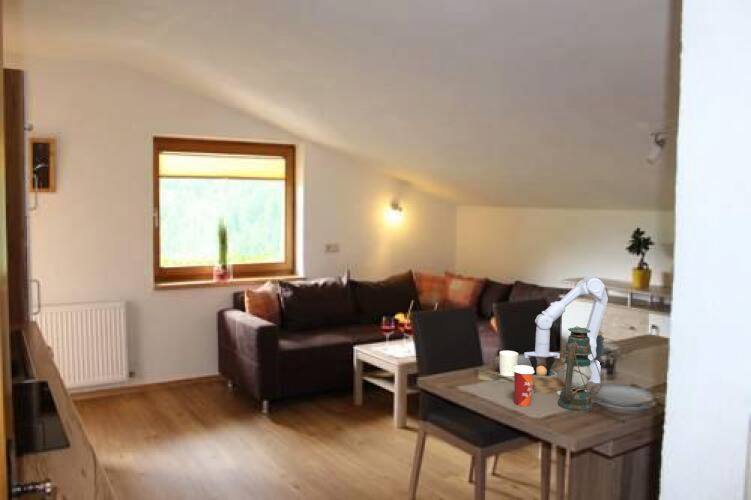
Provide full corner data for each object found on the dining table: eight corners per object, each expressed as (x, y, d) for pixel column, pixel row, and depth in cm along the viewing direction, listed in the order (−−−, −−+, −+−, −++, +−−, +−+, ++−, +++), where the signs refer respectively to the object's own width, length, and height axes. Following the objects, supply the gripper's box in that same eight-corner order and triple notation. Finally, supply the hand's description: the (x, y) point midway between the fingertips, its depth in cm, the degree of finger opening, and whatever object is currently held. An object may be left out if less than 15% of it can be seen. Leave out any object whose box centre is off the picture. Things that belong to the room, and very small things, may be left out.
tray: (559, 383, 275) (559, 377, 275) (570, 394, 261) (570, 388, 261) (525, 383, 274) (525, 377, 274) (534, 393, 260) (535, 387, 260)
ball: (544, 375, 283) (545, 364, 282) (548, 378, 278) (548, 367, 278) (533, 375, 283) (534, 364, 282) (536, 378, 278) (537, 367, 278)
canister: (606, 361, 311) (608, 324, 309) (599, 367, 300) (601, 329, 298) (578, 356, 317) (580, 320, 316) (570, 362, 307) (572, 325, 305)
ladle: (586, 390, 264) (586, 387, 264) (590, 395, 261) (591, 392, 260) (555, 392, 262) (555, 389, 262) (559, 397, 258) (559, 394, 258)
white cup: (517, 379, 279) (518, 355, 278) (498, 377, 281) (499, 354, 280) (517, 373, 287) (518, 351, 286) (498, 372, 289) (499, 349, 288)
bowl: (551, 374, 287) (551, 368, 287) (560, 383, 275) (560, 376, 274) (522, 374, 287) (522, 368, 286) (529, 383, 274) (530, 376, 274)
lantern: (568, 395, 259) (572, 320, 256) (605, 404, 250) (610, 325, 247) (548, 408, 244) (552, 328, 240) (586, 417, 235) (591, 334, 232)
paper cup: (528, 409, 243) (530, 371, 241) (508, 404, 247) (510, 368, 245) (535, 403, 249) (537, 366, 248) (516, 399, 254) (517, 363, 252)
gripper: (556, 340, 283) (555, 371, 285) (522, 340, 283) (521, 371, 284) (561, 344, 276) (560, 376, 278) (527, 344, 276) (525, 376, 277)
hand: (540, 374), depth 280 cm, fingers closed on ball, 5 cm apart
